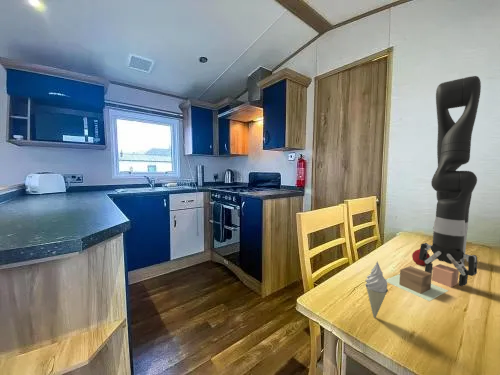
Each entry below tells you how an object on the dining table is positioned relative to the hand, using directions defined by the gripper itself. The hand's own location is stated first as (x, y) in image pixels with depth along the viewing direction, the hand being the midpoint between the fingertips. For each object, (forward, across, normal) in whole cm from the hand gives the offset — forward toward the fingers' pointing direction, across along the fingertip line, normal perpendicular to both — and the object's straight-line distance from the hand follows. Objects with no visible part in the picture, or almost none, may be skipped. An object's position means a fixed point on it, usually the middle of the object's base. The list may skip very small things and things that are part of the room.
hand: (444, 279), depth 72 cm
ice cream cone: (+3, +1, +36) cm, 36 cm away
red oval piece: (+2, +11, -10) cm, 15 cm away
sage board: (+2, +4, +11) cm, 12 cm away
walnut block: (+1, +3, +12) cm, 13 cm away
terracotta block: (+2, 0, 0) cm, 2 cm away
